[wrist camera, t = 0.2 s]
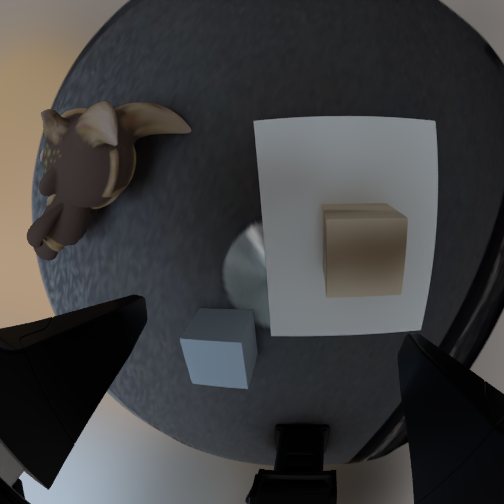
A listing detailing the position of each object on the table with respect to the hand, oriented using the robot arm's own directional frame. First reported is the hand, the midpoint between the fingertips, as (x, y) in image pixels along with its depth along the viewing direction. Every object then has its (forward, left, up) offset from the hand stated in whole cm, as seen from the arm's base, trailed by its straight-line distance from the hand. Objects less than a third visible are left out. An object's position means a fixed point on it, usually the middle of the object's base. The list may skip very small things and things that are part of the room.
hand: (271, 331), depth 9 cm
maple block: (-1, -5, -14) cm, 15 cm away
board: (-1, -5, -14) cm, 15 cm away
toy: (+6, +15, -14) cm, 22 cm away
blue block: (-10, +6, -14) cm, 18 cm away
